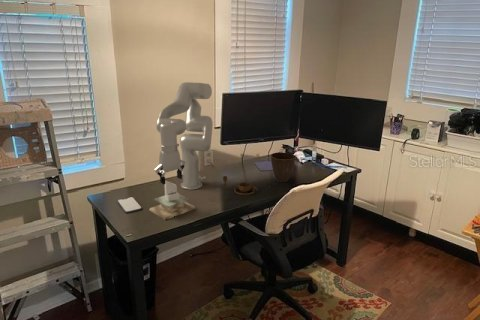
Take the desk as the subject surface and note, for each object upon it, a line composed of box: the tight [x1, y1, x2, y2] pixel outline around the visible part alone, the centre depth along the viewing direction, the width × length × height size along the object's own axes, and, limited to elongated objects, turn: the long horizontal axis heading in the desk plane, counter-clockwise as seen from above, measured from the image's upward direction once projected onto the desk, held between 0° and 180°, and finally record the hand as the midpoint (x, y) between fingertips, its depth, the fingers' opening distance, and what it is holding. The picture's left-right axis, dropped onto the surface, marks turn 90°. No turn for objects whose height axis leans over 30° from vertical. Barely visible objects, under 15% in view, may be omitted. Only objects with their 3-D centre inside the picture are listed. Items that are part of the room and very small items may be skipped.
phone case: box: [116, 196, 143, 214], centre depth 187 cm, size 9×2×16 cm
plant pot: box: [270, 151, 296, 183], centre depth 222 cm, size 15×15×16 cm
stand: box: [149, 193, 196, 221], centre depth 183 cm, size 18×14×6 cm
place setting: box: [222, 175, 259, 196], centre depth 210 cm, size 18×20×6 cm
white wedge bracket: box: [163, 180, 180, 201], centre depth 181 cm, size 4×10×9 cm, turn 128°
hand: (171, 180), depth 180 cm, fingers open, 9 cm apart
